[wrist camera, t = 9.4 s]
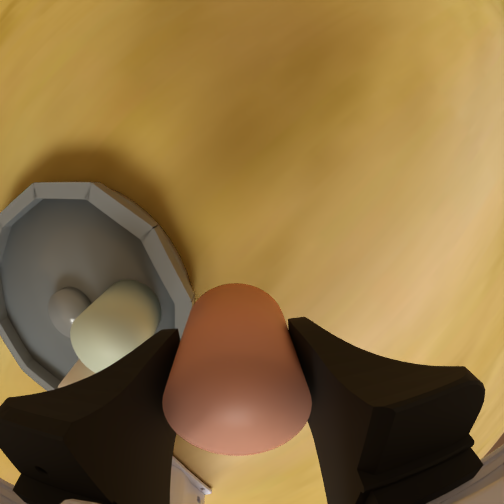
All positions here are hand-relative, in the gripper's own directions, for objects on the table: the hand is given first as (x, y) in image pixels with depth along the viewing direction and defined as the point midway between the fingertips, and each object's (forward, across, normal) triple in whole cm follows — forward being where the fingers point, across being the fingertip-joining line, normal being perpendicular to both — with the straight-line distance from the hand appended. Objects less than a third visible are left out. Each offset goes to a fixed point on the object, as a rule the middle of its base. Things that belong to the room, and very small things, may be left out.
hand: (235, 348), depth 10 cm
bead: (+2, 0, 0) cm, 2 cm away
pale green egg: (+7, +7, +1) cm, 10 cm away
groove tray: (+8, +12, +1) cm, 14 cm away
